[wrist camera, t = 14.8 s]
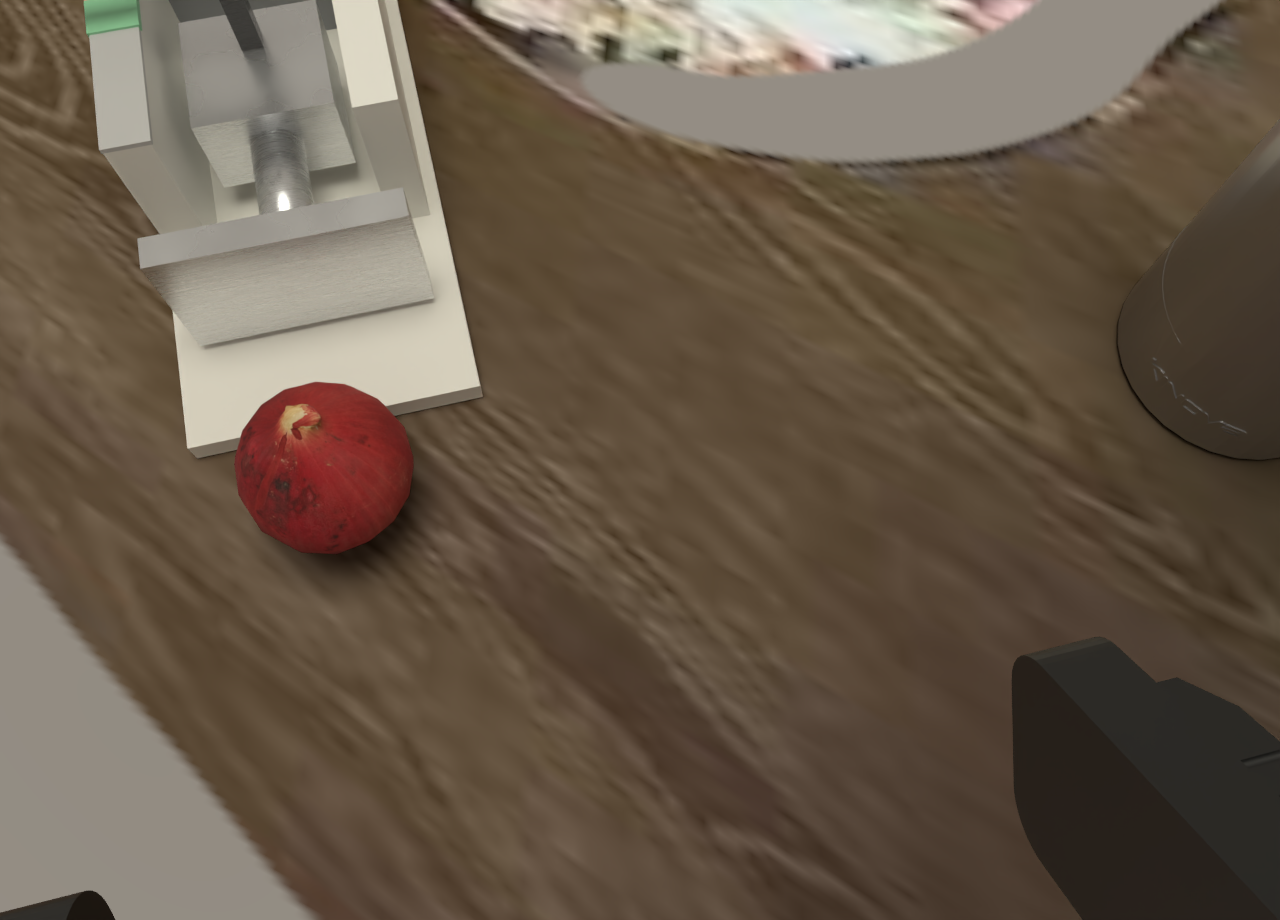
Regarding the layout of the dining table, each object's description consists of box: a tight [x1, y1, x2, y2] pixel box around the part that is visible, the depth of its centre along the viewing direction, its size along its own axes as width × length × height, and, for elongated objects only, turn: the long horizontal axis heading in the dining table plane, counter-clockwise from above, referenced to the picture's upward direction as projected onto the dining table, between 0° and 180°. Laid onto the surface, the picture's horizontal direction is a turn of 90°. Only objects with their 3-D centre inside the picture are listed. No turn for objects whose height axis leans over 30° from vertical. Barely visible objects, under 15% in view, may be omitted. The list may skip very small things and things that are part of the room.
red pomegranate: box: [234, 382, 414, 554], centre depth 37 cm, size 6×6×8 cm
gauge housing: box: [84, 0, 483, 458], centre depth 42 cm, size 21×11×8 cm, turn 14°
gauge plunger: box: [138, 0, 434, 346], centre depth 40 cm, size 11×10×9 cm
